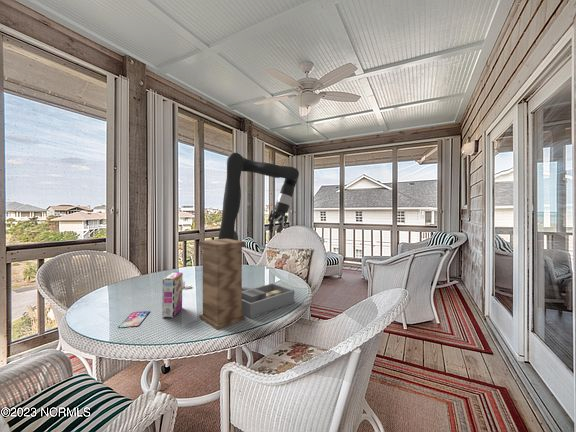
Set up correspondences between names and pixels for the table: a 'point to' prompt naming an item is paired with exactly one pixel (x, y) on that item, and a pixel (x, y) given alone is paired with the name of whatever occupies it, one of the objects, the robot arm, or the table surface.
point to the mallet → (258, 295)
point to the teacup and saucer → (185, 285)
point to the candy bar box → (172, 295)
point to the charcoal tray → (268, 301)
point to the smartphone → (134, 319)
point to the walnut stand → (222, 282)
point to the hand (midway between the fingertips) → (274, 231)
